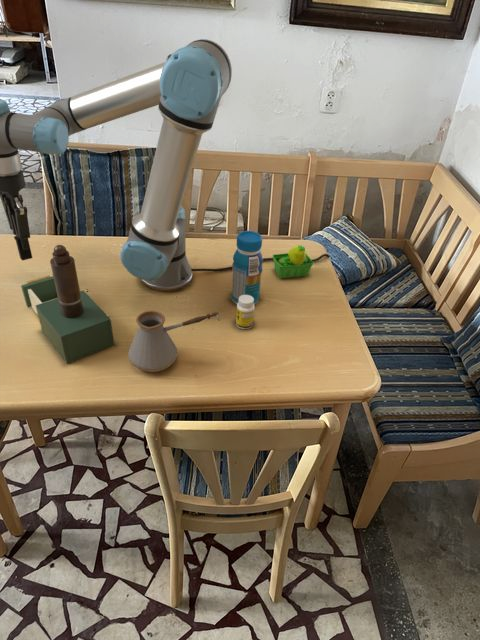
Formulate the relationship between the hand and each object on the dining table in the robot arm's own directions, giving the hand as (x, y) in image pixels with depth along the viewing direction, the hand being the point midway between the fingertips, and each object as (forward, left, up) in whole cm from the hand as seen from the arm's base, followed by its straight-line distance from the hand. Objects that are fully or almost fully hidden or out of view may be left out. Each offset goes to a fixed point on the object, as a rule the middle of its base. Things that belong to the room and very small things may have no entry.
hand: (26, 258), depth 131 cm
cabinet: (-14, +24, -9) cm, 30 cm away
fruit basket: (-76, -4, -9) cm, 76 cm away
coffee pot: (-38, +35, -9) cm, 52 cm away
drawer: (-7, +12, -8) cm, 16 cm away
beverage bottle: (-59, +9, -9) cm, 60 cm away
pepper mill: (-14, +24, -1) cm, 28 cm away
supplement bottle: (-57, +21, -9) cm, 61 cm away
